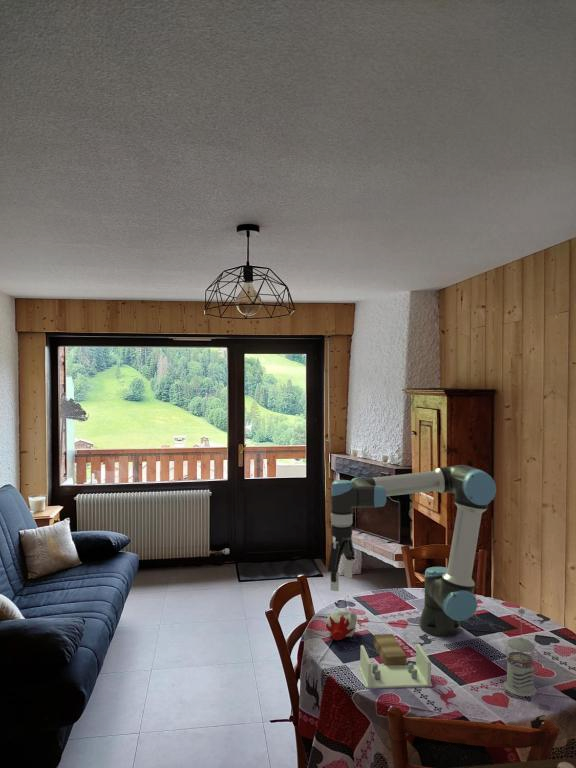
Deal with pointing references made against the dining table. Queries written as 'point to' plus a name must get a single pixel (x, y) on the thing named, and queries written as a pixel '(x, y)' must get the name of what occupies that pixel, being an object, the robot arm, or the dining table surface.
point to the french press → (516, 680)
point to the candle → (341, 624)
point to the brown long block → (389, 649)
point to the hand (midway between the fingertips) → (341, 583)
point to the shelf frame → (396, 672)
